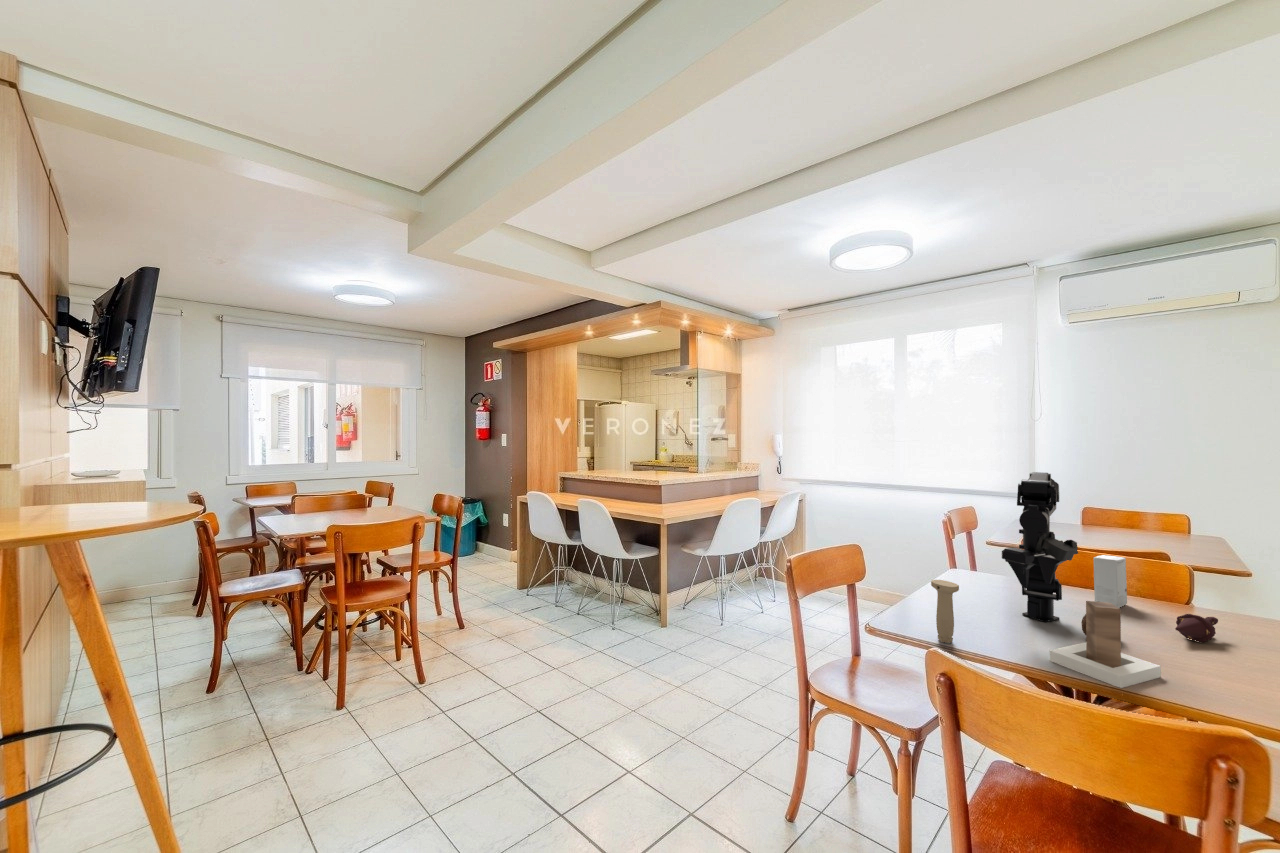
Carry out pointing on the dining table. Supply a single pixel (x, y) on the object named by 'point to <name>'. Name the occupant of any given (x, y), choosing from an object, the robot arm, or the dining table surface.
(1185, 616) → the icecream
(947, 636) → the handle
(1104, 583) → the skincare box
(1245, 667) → the dining table surface
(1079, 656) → the socket block
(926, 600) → the dining table surface
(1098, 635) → the peg
